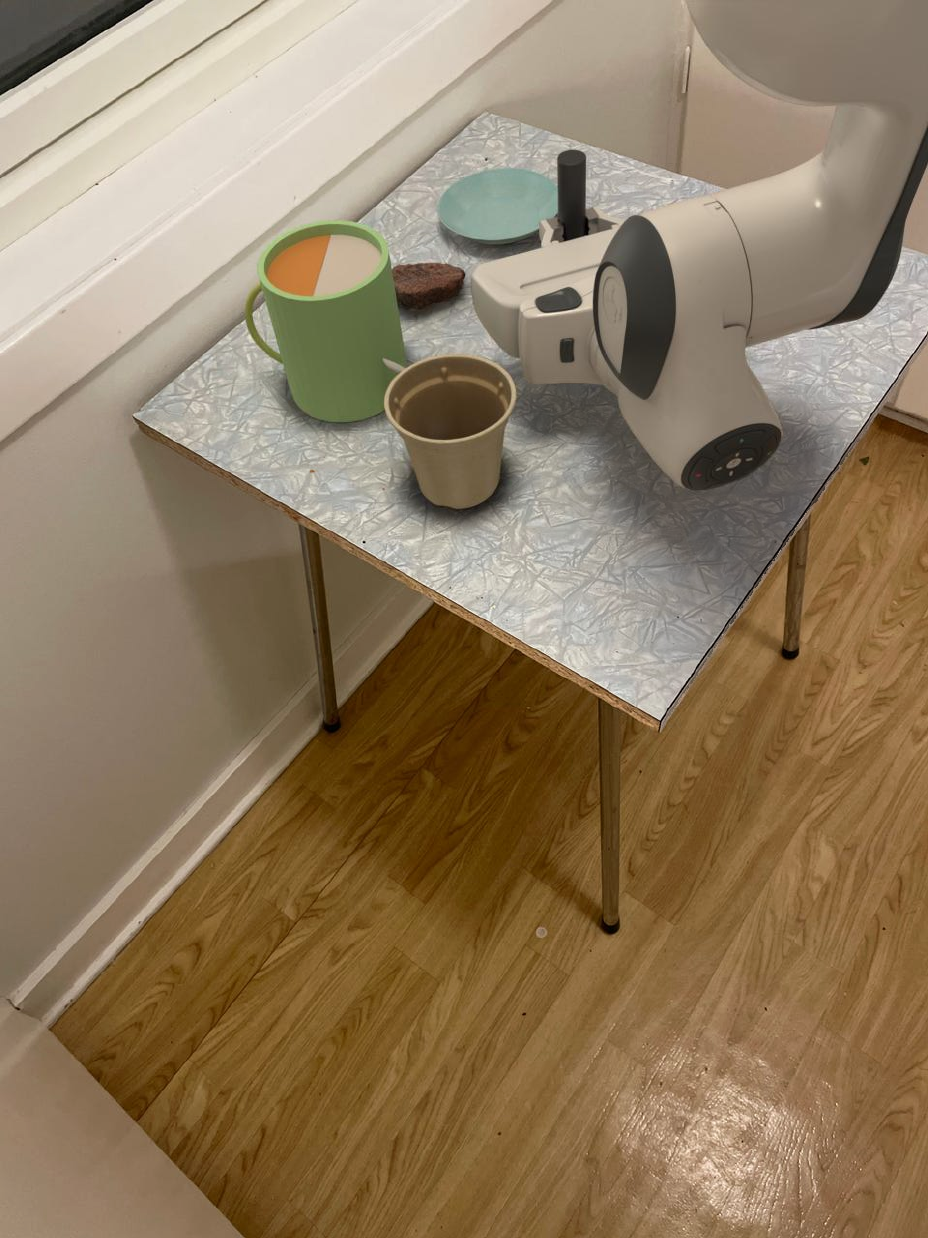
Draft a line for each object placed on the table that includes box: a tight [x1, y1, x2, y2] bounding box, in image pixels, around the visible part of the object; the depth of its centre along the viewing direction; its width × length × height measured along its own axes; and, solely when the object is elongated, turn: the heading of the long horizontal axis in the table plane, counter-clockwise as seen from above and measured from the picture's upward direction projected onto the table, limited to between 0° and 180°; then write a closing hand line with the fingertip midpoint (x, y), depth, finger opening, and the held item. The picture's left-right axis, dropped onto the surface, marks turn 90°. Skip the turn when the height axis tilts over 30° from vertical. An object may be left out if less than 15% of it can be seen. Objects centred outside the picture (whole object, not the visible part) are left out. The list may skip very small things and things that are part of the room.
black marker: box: [556, 149, 587, 242], centre depth 86 cm, size 2×2×14 cm
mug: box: [244, 219, 408, 423], centre depth 85 cm, size 13×10×12 cm
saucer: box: [436, 167, 558, 245], centre depth 100 cm, size 12×12×2 cm
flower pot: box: [384, 353, 517, 510], centre depth 78 cm, size 9×9×9 cm
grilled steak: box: [392, 262, 466, 312], centre depth 94 cm, size 7×7×3 cm
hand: (567, 220), depth 85 cm, fingers closed on black marker, 2 cm apart
